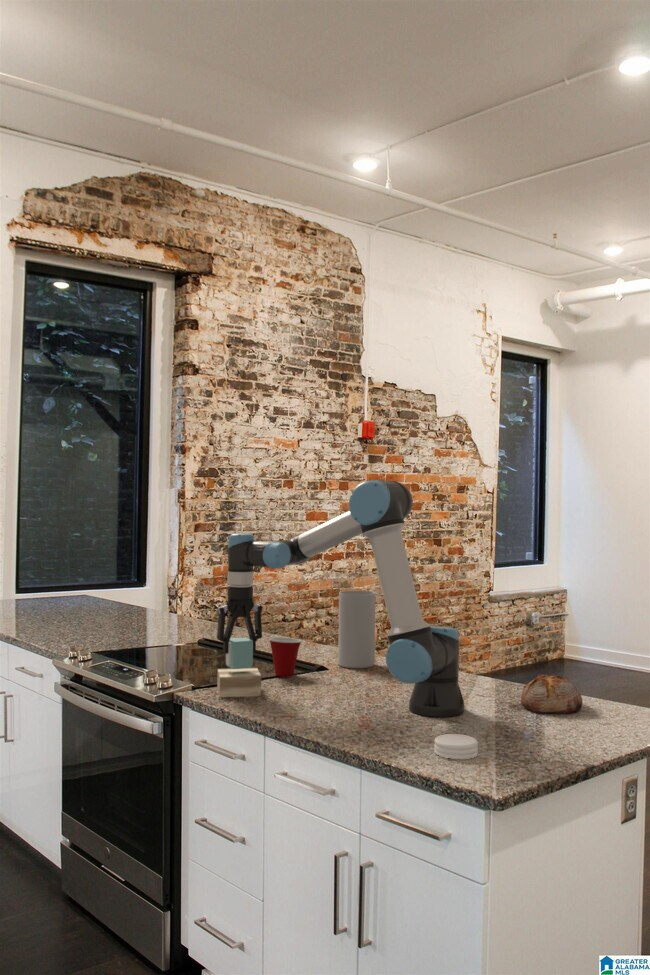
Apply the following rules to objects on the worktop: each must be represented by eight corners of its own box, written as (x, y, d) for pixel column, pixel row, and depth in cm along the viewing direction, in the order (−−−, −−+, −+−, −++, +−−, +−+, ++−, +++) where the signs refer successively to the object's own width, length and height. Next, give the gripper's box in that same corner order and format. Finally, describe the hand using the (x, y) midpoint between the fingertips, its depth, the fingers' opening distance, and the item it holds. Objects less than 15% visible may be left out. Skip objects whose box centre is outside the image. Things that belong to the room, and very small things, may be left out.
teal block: (252, 667, 259) (252, 640, 259) (233, 669, 256) (233, 641, 256) (245, 663, 264) (245, 637, 264) (226, 665, 262) (226, 638, 262)
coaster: (438, 746, 208) (438, 731, 208) (480, 750, 205) (480, 735, 205) (430, 758, 199) (430, 743, 199) (474, 763, 196) (475, 747, 196)
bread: (510, 713, 244) (509, 677, 244) (538, 700, 260) (536, 666, 260) (568, 719, 234) (566, 682, 234) (592, 705, 250) (591, 670, 250)
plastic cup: (308, 675, 285) (309, 638, 285) (285, 680, 277) (285, 642, 277) (284, 670, 292) (285, 634, 292) (261, 675, 284) (261, 638, 284)
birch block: (261, 696, 255) (261, 676, 255) (219, 698, 253) (219, 677, 253) (256, 687, 267) (257, 668, 267) (217, 688, 265) (217, 668, 265)
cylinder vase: (366, 661, 310) (367, 590, 310) (379, 668, 298) (380, 594, 298) (333, 662, 306) (334, 591, 306) (345, 669, 294) (346, 595, 294)
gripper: (265, 583, 268) (264, 658, 268) (205, 585, 259) (204, 663, 259) (274, 585, 261) (273, 663, 261) (214, 588, 253) (213, 668, 253)
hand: (239, 663), depth 260 cm, fingers closed on teal block, 6 cm apart
